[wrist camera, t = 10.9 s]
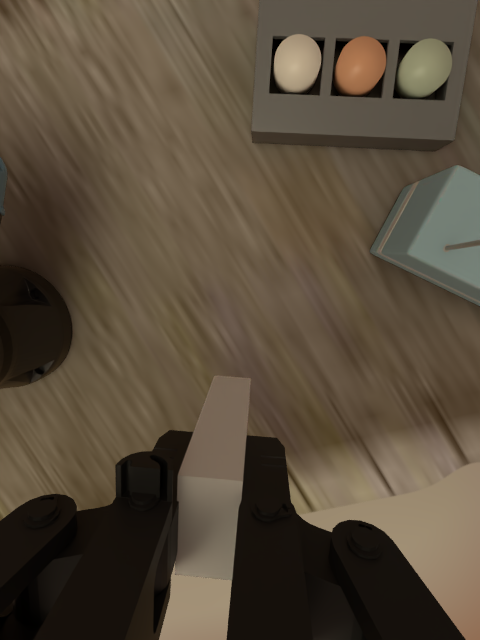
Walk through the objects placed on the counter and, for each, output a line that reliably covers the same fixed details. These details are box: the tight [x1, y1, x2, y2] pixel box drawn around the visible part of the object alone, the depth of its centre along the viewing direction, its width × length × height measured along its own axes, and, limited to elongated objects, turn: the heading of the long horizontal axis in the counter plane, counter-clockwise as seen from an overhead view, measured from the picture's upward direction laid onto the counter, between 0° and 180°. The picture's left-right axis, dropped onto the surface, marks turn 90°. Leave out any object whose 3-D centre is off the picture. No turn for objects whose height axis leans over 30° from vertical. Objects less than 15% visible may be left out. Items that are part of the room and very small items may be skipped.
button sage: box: [394, 38, 452, 100], centre depth 34 cm, size 4×4×2 cm
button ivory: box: [273, 34, 321, 95], centre depth 35 cm, size 4×4×2 cm
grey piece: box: [251, 0, 478, 151], centre depth 36 cm, size 20×12×4 cm, turn 87°
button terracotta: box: [333, 36, 386, 97], centre depth 35 cm, size 4×4×2 cm
